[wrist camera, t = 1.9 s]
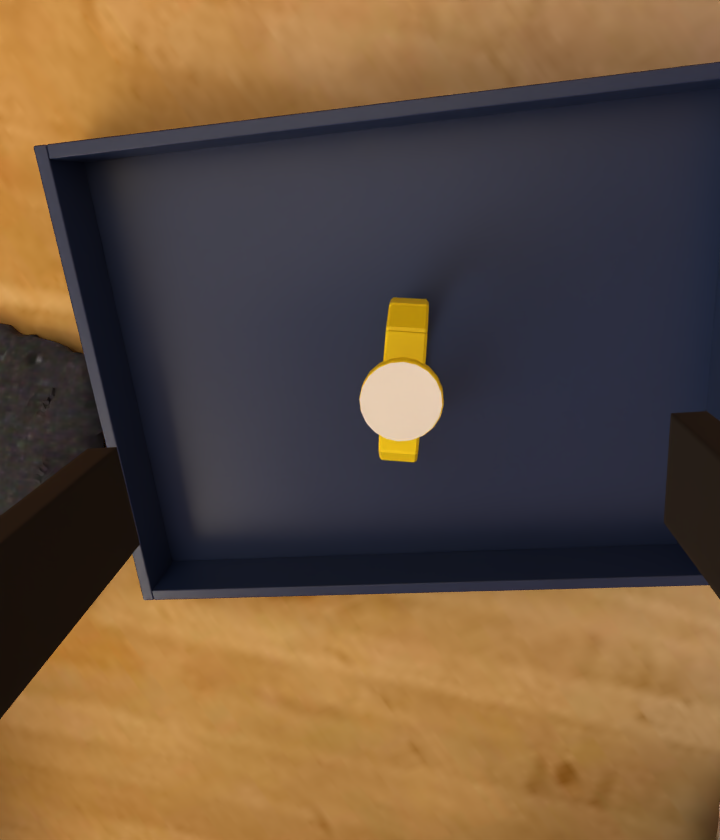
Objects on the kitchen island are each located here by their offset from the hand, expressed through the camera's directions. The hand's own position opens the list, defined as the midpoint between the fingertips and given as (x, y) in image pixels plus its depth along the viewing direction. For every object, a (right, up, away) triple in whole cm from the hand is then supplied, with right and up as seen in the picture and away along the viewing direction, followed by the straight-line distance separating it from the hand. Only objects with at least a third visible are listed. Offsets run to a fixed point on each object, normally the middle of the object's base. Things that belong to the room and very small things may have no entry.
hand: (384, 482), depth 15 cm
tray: (+1, +4, +12) cm, 12 cm away
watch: (+1, +4, +11) cm, 12 cm away
